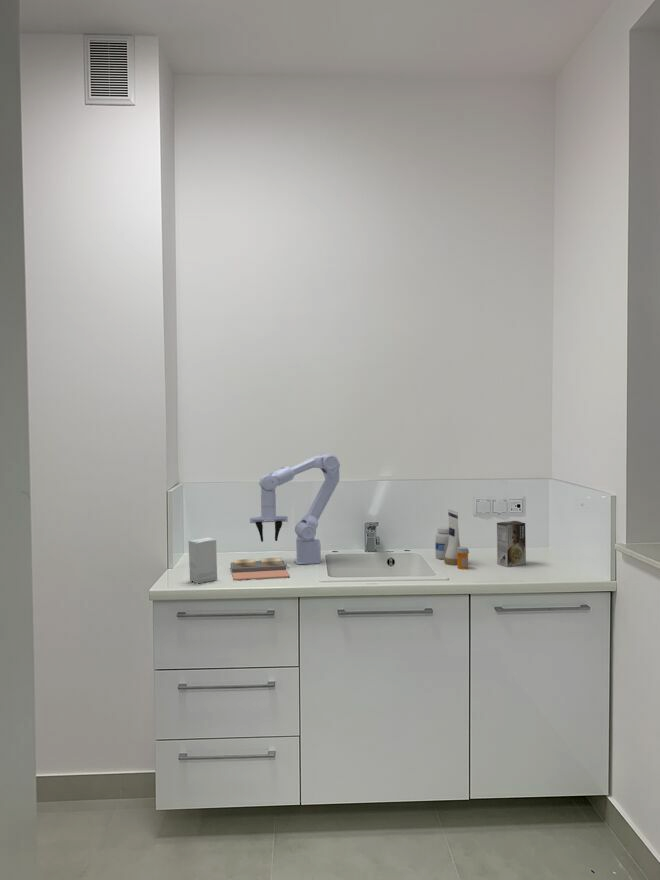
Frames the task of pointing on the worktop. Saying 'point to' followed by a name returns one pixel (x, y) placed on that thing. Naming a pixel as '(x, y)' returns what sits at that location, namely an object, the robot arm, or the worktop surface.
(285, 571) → the mat
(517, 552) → the coffee box
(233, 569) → the grey board
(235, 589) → the worktop surface
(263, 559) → the inner tile
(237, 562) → the outer tile
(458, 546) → the toiletry set
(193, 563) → the skincare box
